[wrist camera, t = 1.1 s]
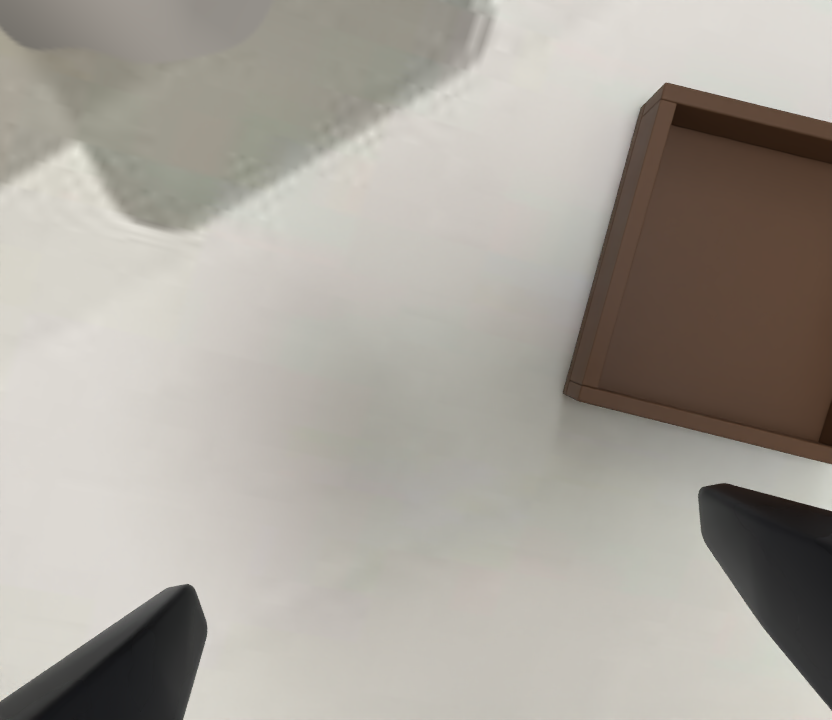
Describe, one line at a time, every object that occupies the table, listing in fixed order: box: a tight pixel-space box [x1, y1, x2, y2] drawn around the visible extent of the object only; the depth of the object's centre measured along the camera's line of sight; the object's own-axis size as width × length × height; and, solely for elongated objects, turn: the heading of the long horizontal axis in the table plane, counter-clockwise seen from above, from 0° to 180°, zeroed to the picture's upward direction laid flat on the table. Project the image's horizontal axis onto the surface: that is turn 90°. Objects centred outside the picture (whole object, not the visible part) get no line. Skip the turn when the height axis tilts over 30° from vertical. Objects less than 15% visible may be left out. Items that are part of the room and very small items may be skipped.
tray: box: [563, 83, 832, 464], centre depth 21 cm, size 13×12×2 cm
